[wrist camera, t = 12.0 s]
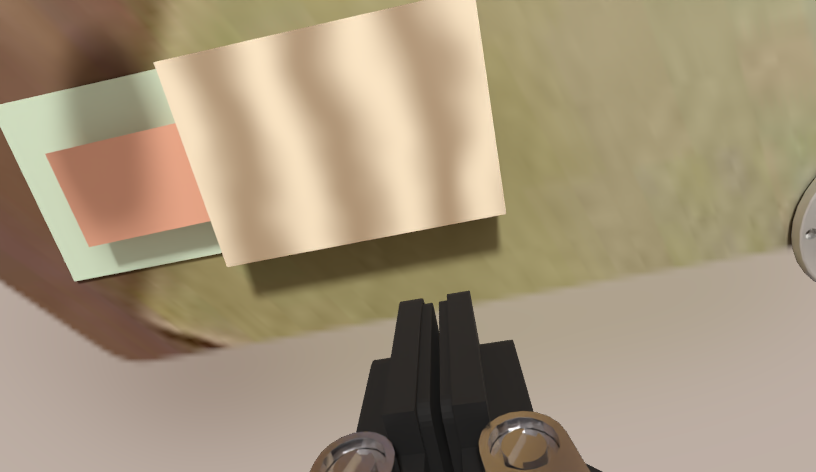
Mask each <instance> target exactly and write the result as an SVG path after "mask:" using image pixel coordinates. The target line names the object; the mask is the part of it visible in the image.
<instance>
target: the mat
mask: <svg viewBox="0 0 816 472" xmlns="http://www.w3.org/2000/svg"><path fill="white" fill-rule="evenodd" d="M174 123H175V121H174V118H173V115H172V112H171V110H170V107H169V104H168V101H167V98H166V96H165V93H164V90H163V87H162V85H161V82H160V79H159V76H158V73H157V71H156V69H154V70H149V71H145V72H141V73H136V74H132V75H128V76H123V77H119V78H114V79H110V80H106V81H101V82H97V83H92V84H88V85H84V86H79V87H75V88H71V89H66V90H62V91H57V92H53V93H49V94H44V95H40V96H35V97H31V98H27V99H22V100H18V101H14V102H9V103H5V104H0V127H1V129H2V131H3V133H4V135H5V137H6V140H7V142H8V144H9V146H10V148H11V150H12V152H13V154H14V156H15V158H16V160H17V162H18V165H19V167H20V169H21V171H22V173H23V175H24V177H25V179H26V181H27V183H28V185H29V187H30V190H31V192H32V194H33V196H34V198H35V200H36V202H37V204H38V206H39V208H40V210H41V212H42V215H43V217H44V219H45V221H46V223H47V225H48V227H49V229H50V231H51V233H52V235H53V237H54V240H55V242H56V244H57V246H58V248H59V250H60V252H61V254H62V256H63V258H64V260H65V262H66V265H67V267H68V269H69V271H70V273H71V275H72V277H73V279H74V281H80V280H85V279H90V278H95V277H100V276H105V275H111V274H116V273H121V272H126V271H131V270H136V269H142V268H147V267H152V266H157V265H162V264H168V263H173V262H178V261H183V260H188V259H193V258H199V257H204V256H209V255H214V254H219V253H222V251H221V249H220V246H219V243H218V240H217V237H216V235H215V232H214V229H213V226H212V224H211V221H209V222H204V223H199V224H195V225H190V226H185V227H181V228H176V229H171V230H167V231H162V232H157V233H153V234H148V235H144V236H139V237H134V238H130V239H125V240H120V241H116V242H111V243H106V244H102V245H97V246H92V247H89V246H88V244H87V242H86V240H85V237H84V235H83V233H82V231H81V229H80V227H79V225H78V223H77V221H76V218H75V216H74V214H73V212H72V210H71V208H70V206H69V204H68V202H67V199H66V197H65V195H64V193H63V191H62V189H61V187H60V185H59V183H58V180H57V178H56V176H55V174H54V172H53V170H52V168H51V166H50V164H49V161H48V159H47V157H46V155H45V154H46V153H51V152H55V151H59V150H63V149H68V148H72V147H76V146H80V145H85V144H89V143H93V142H97V141H102V140H106V139H110V138H114V137H119V136H123V135H127V134H131V133H136V132H140V131H144V130H148V129H153V128H157V127H161V126H165V125H170V124H174Z"/></svg>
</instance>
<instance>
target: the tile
mask: <svg viewBox="0 0 816 472" xmlns="http://www.w3.org/2000/svg"><path fill="white" fill-rule="evenodd" d="M45 155H46V157H47V159H48V161H49V164H50V166H51V168H52V170H53V172H54V174H55V176H56V178H57V180H58V183H59V185H60V187H61V189H62V191H63V193H64V195H65V197H66V199H67V202H68V204H69V206H70V208H71V210H72V212H73V214H74V216H75V218H76V221H77V223H78V225H79V227H80V229H81V231H82V233H83V235H84V237H85V240H86V242H87V244H88V246H89V247H92V246H97V245H102V244H106V243H111V242H116V241H120V240H125V239H130V238H134V237H139V236H144V235H148V234H153V233H157V232H162V231H167V230H171V229H176V228H181V227H185V226H190V225H195V224H199V223H204V222H209V221H210V218H209V215H208V212H207V210H206V207H205V204H204V201H203V199H202V196H201V193H200V190H199V187H198V185H197V182H196V179H195V176H194V174H193V171H192V168H191V165H190V162H189V160H188V157H187V154H186V151H185V148H184V146H183V143H182V140H181V137H180V135H179V132H178V129H177V126H176V123H174V124H170V125H165V126H161V127H157V128H153V129H148V130H144V131H140V132H136V133H131V134H127V135H123V136H119V137H114V138H110V139H106V140H102V141H97V142H93V143H89V144H85V145H80V146H76V147H72V148H68V149H63V150H59V151H55V152H51V153H46V154H45Z"/></svg>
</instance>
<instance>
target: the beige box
mask: <svg viewBox="0 0 816 472" xmlns="http://www.w3.org/2000/svg"><path fill="white" fill-rule="evenodd" d="M154 65H155V68H156V71H157V73H158V76H159V79H160V82H161V85H162V87H163V90H164V93H165V96H166V98H167V101H168V104H169V107H170V110H171V112H172V115H173V118H174V121H175V123H176V126H177V129H178V132H179V135H180V137H181V140H182V143H183V146H184V148H185V151H186V154H187V157H188V160H189V162H190V165H191V168H192V171H193V174H194V176H195V179H196V182H197V185H198V187H199V190H200V193H201V196H202V199H203V201H204V204H205V207H206V210H207V212H208V215H209V218H210V221H211V224H212V226H213V229H214V232H215V235H216V237H217V240H218V243H219V246H220V249H221V251H222V254H223V257H224V260H225V262H226V265H227V267H230V266H235V265H241V264H246V263H251V262H256V261H262V260H267V259H272V258H277V257H283V256H288V255H293V254H298V253H304V252H309V251H314V250H319V249H325V248H330V247H335V246H340V245H346V244H351V243H356V242H361V241H367V240H372V239H377V238H382V237H388V236H393V235H398V234H403V233H409V232H414V231H419V230H424V229H429V228H435V227H440V226H445V225H450V224H456V223H461V222H466V221H471V220H477V219H482V218H487V217H492V216H498V215H503V214H506V209H505V202H504V195H503V188H502V181H501V174H500V167H499V160H498V153H497V146H496V139H495V132H494V125H493V118H492V111H491V104H490V97H489V90H488V83H487V76H486V69H485V62H484V55H483V48H482V41H481V34H480V27H479V20H478V13H477V6H476V0H423V1H419V2H415V3H410V4H406V5H401V6H397V7H393V8H388V9H384V10H380V11H375V12H371V13H367V14H362V15H358V16H354V17H349V18H345V19H340V20H336V21H332V22H327V23H323V24H319V25H314V26H310V27H306V28H301V29H297V30H292V31H288V32H284V33H279V34H275V35H271V36H266V37H262V38H258V39H253V40H249V41H244V42H240V43H236V44H231V45H227V46H223V47H218V48H214V49H210V50H205V51H201V52H197V53H192V54H188V55H183V56H179V57H175V58H170V59H166V60H162V61H157V62H154Z"/></svg>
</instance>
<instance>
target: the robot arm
mask: <svg viewBox="0 0 816 472" xmlns="http://www.w3.org/2000/svg"><path fill="white" fill-rule="evenodd" d="M791 238H792V248H793V252H794V255H795V257H796V260H797V263H798V264H799V265H800V267H801V268H802V270H803V271H804V273H806V274H807V275H808V276H809V277H810V278H811V279H812V280H813V281H815V282H816V178H815V179H814V180H813V182H812V183H811V185H810V186H809V187H808V189H807V190H806V191H805V193H804V195H803V197H802V199H801V201H800V203H799V205H798V207H797V210H796V213H795V217H794V220H793V226H792V234H791ZM310 472H602V471H600V470H598V469H596V468H594V467H592V466H590V465H588V464H586V463H585V462H584V460H583V459H582V457H581V455H580V454H579V452H578V451H577V448H576V447H575V445H574V443H573V442H572V440H571V438H570V437H569V435H568V433H567V431H565V429H564V428H563V427H562V426H561V424H560V423H559V422H557V421H555V420H554V419H552V418H551V417H549V416H547V415H544V414H540V413H537V412H533V408H532V405H531V401H530V398H529V394H528V391H527V387H526V384H525V380H524V377H523V373H522V370H521V367H520V363H519V359H518V356H517V352H516V349H515V345H514V342H513V340H507V341H500V342H494V343H487V344H479V339H478V333H477V328H476V322H475V317H474V312H473V306H472V301H471V295H470V291H465V292H458V293H452V294H447V301H441V302H439V330H438V325H437V320H436V315H435V311H434V306H433V303H428V304H425V303H424V300H423V298H422V299H415V300H409V301H403V302H400V304H399V310H398V316H397V323H396V329H395V335H394V341H393V347H392V354H391V358H386V359H379V360H374V361H373V362H372V365H371V369H370V373H369V378H368V383H367V387H366V391H365V395H364V400H363V405H362V409H361V413H360V418H359V423H358V427H357V431H356V433H352V434H349V435H346V436H344V437H341V438H339V439H338V440H336V441H335V442H333V443H331V444H330V445H329V446H327V448H325V449H324V450H323V451H322V452H321V453H320V455H319V456H318V458H317V459H316V461H315V462H314V464H313V466H312V468H311V470H310Z"/></svg>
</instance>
